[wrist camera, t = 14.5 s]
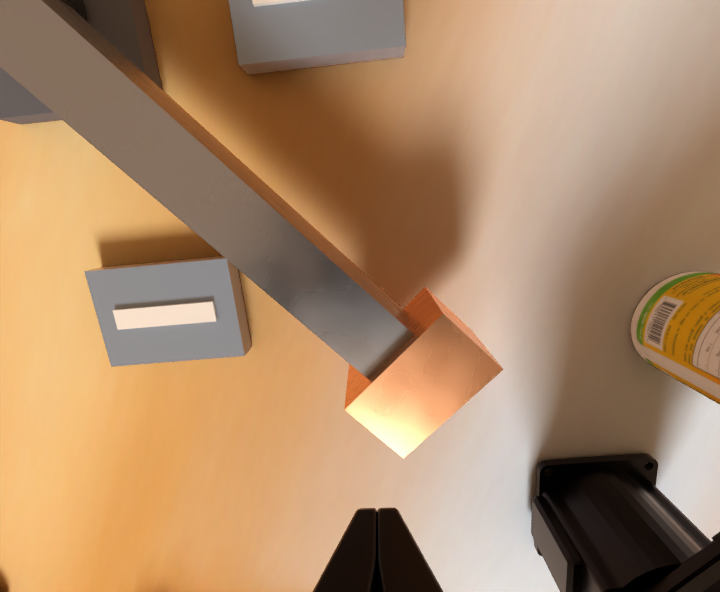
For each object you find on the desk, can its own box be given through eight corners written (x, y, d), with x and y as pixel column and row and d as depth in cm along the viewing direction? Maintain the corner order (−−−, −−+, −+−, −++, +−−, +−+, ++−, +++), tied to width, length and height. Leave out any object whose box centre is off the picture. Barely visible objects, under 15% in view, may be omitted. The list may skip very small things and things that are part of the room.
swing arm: (-27, 32, 15) (-215, -49, 10) (34, -79, 14) (-141, -228, 9) (394, 391, 19) (403, 458, 14) (466, 323, 18) (503, 369, 13)
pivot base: (128, -76, 15) (108, -99, 14) (166, 108, 17) (151, 101, 16) (-32, -55, 16) (-65, -75, 14) (21, 124, 17) (-4, 118, 16)
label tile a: (235, 254, 19) (225, 258, 17) (251, 346, 20) (243, 357, 18) (101, 267, 19) (81, 272, 18) (126, 356, 20) (108, 368, 19)
